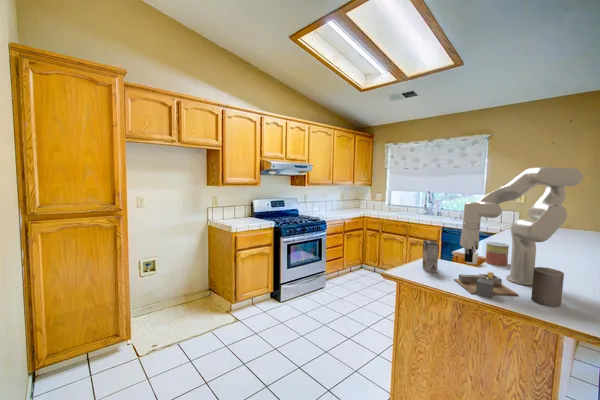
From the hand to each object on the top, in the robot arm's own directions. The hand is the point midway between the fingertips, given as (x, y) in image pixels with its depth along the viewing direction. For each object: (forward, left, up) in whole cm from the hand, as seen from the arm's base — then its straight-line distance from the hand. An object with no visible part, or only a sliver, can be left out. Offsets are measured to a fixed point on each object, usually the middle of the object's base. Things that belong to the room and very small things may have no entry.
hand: (468, 261), depth 145 cm
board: (-3, +10, -9) cm, 14 cm away
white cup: (-16, -31, -10) cm, 36 cm away
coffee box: (+14, -15, -10) cm, 22 cm away
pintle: (-8, +6, -9) cm, 14 cm away
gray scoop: (-2, +6, -9) cm, 11 cm away
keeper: (0, +17, -9) cm, 20 cm away
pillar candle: (-20, +24, -10) cm, 33 cm away
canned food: (-31, -32, -10) cm, 45 cm away
